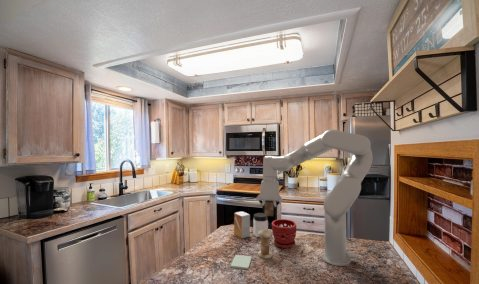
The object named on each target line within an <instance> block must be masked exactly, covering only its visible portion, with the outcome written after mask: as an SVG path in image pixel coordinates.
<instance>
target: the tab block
mask: <svg viewBox="0 0 479 284" xmlns="http://www.w3.org/2000/svg"><path fill="white" fill-rule="evenodd" d="M273 207H274V202H273V201H267V200H265V213H264V214H265V216H267V217H274V214H273Z"/></svg>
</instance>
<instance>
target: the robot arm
mask: <svg viewBox="0 0 479 284" xmlns="http://www.w3.org/2000/svg"><path fill="white" fill-rule="evenodd" d="M371 144H372V143H371V140H370V139H369V138H368V137H367V136H365V135H363V134H362V135H361V134H357V133H352V132H346V131H341V130H338V129H334V128H333V129H332V128H331V129H328V130H326V131H324V133H322V134H320V135H318V136H317V137H314V138H312V139H311V140H308V141H307V142H305V143H304V144H302V145H301V146H300V147H299V148H298V149H296V150H294V151H292V152H290V153H289V154H286V155H282V156H275V155H265V156H264V157H263V161H262V163H263V166H262V180H261V182H260V183H261V184H260V187H259V188H260V189H259V190H260V191H259V194H258V195H257V196H256V198H255V199H256V200H257V201H258V202H259V203H260V205H261V208H262V210H261V211H262V213H264V214H265V200H267V201H273V202H274V207H273V215H275V213H277V207H278V205H280V204H281V203H283V202H284V199H283V197H282V196H281V195H280V183H279V181H280V180H281V177H279V176H278V171H280V172H286V171H289V170H291V169H292V168H295V167H297V166H299V165H301V164H303V163H305V162H307V161H311V160H313V159H314V158H317V157H319V156H321V155H323V154H325V153H327V152H329V151H331V150H336V151H341V152H345V153H349V154H351V157H350V161H349V162H348V164H347V165H346V167H345V169H344V170H343V172H342V173H341V175H340V176H338V178H337V181H336V183H335V185H334V187H333V188H332V190H331V191H330V192H328V193H326V195H325V196H324V201H323V209H324V216H323V217H324V225H323V226H324V251H323V252H322V253H321V256H320V257H321V259H322V260H323V261H324V262H325V263H327V264H329V265H332V266H337V267H347V266H349V265H350V264H351V260H352V259H355V260H358V259H359V255H358V254H357V253H354V252H353V251H348V250H347V249H348V248H347V213H348V212H349V209H350V208H351V207H352V205H353V204H354V203H355V201H356V199H357V198H358V197H359V195H360V193H361V190H362V182H363V180H364V178H365V177H366V175H367V174H368V172H369V171H370V169H371V167H372V164H373V158H374V157H373V151H372V148H371V147H372V145H371Z"/></svg>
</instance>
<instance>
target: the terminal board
mask: <svg viewBox="0 0 479 284" xmlns="http://www.w3.org/2000/svg"><path fill="white" fill-rule="evenodd" d="M252 258H253V257H252V255H251V256H249V255H241V254H240V255H239V254H235V255H234V257H233V259H232V261H231V264H230V268H232V269H241V270H249V268H250V266H251V261H252Z"/></svg>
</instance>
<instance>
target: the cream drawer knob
mask: <svg viewBox="0 0 479 284" xmlns="http://www.w3.org/2000/svg"><path fill="white" fill-rule="evenodd" d="M258 236H260V237H259V238H260V250H259V251H258V252H257V255H258V256H257V257H258V258H260V259H262V260H269V259H272V257H273V252H272V251H270V238H271V237H273V233H272V230H271V231H270V230H269V229H268V230H261V231H259V232H258Z"/></svg>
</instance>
